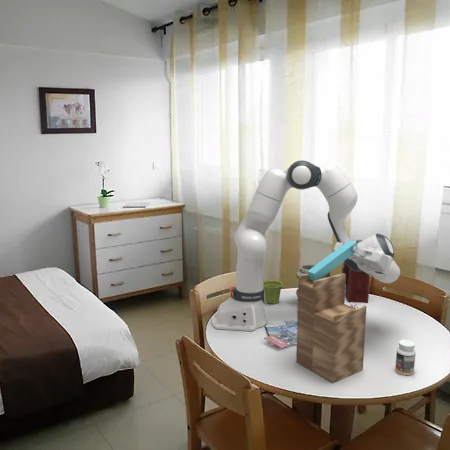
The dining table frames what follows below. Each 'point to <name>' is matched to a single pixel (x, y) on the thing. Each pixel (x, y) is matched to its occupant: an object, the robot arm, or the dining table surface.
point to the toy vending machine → (356, 284)
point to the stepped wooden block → (329, 328)
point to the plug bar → (331, 261)
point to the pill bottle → (405, 357)
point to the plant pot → (272, 291)
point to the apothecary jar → (304, 271)
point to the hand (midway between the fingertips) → (347, 246)
